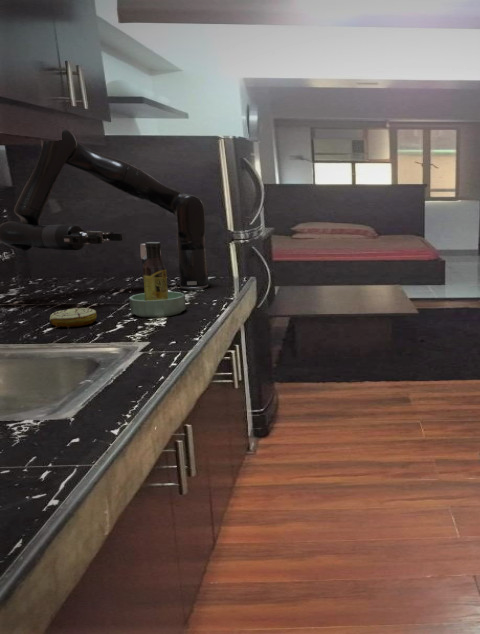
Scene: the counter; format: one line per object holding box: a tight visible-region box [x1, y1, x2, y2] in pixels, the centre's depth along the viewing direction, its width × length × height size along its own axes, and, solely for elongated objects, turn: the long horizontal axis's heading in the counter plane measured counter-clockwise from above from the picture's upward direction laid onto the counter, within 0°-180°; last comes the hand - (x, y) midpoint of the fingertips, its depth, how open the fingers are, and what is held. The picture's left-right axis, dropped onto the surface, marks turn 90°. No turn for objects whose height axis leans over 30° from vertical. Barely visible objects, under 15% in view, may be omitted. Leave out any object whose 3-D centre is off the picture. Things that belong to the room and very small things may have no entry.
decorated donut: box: [49, 307, 98, 328], centre depth 161 cm, size 10×11×4 cm
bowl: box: [129, 291, 187, 318], centre depth 176 cm, size 15×15×5 cm
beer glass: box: [139, 242, 162, 267], centre depth 224 cm, size 7×7×15 cm
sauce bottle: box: [142, 241, 169, 301], centre depth 174 cm, size 6×6×20 cm
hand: (111, 238), depth 176 cm, fingers open, 8 cm apart
